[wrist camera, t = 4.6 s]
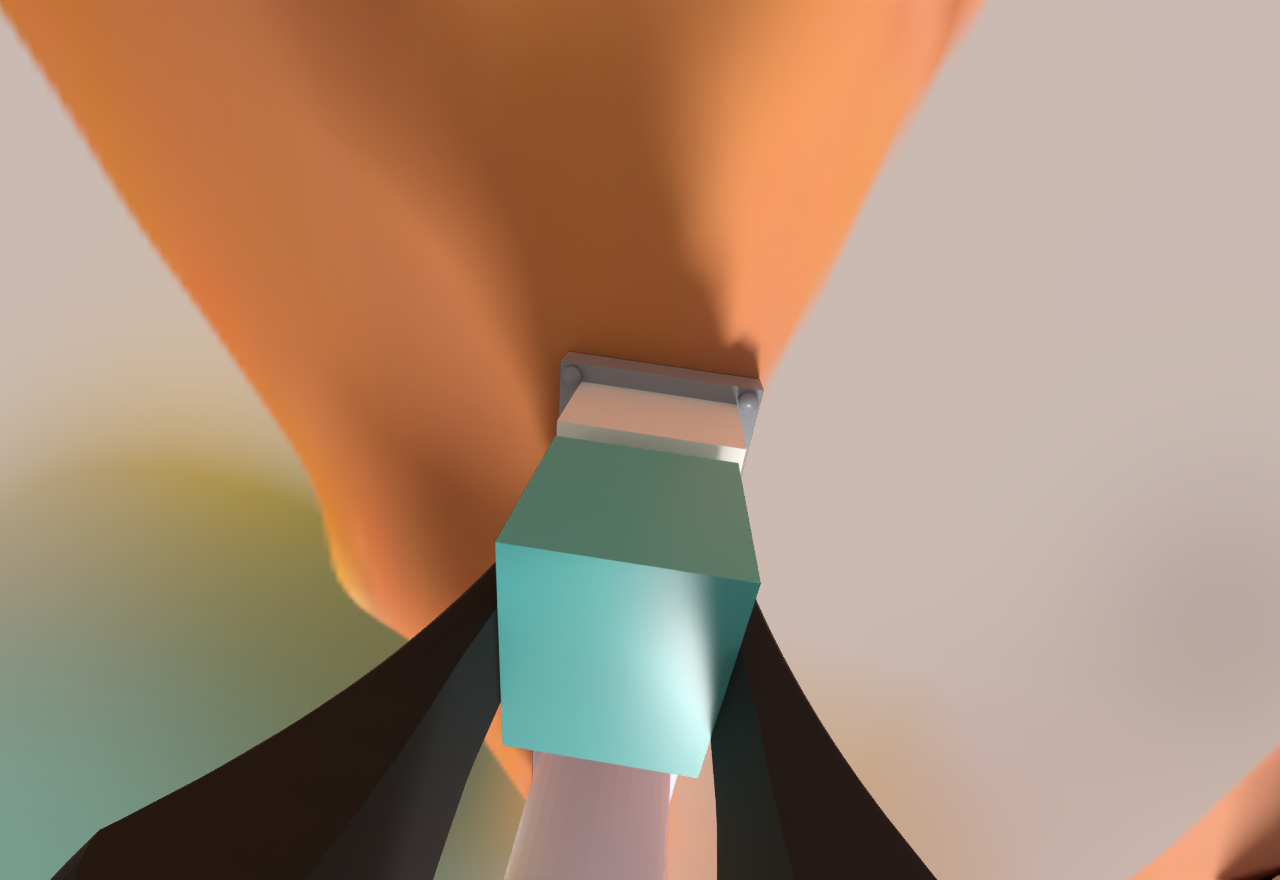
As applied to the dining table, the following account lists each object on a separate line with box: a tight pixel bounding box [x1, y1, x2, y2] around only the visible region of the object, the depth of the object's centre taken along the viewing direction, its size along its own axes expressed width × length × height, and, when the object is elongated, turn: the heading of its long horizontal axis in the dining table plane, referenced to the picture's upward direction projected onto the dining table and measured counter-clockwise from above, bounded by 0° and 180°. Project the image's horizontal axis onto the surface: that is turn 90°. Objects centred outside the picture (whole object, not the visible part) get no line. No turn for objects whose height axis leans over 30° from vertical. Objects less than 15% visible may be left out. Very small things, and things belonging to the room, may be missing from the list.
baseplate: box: [559, 351, 764, 476], centre depth 17 cm, size 7×6×1 cm
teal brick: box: [495, 436, 761, 778], centre depth 11 cm, size 6×4×4 cm
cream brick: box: [557, 382, 746, 473], centre depth 15 cm, size 6×5×3 cm
